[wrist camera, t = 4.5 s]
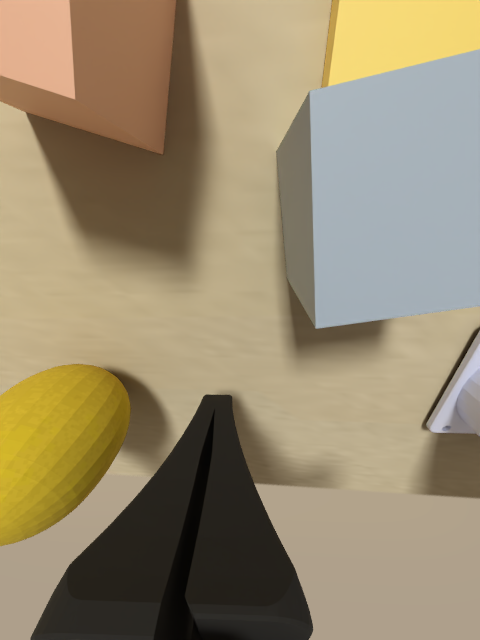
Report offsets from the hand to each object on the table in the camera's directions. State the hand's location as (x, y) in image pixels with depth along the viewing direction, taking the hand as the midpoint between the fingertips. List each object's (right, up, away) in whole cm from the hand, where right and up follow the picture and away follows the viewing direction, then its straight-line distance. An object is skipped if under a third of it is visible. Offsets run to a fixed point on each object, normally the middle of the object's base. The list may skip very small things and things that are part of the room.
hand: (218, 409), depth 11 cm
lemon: (-7, +1, +3) cm, 8 cm away
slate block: (+5, +9, -2) cm, 11 cm away
